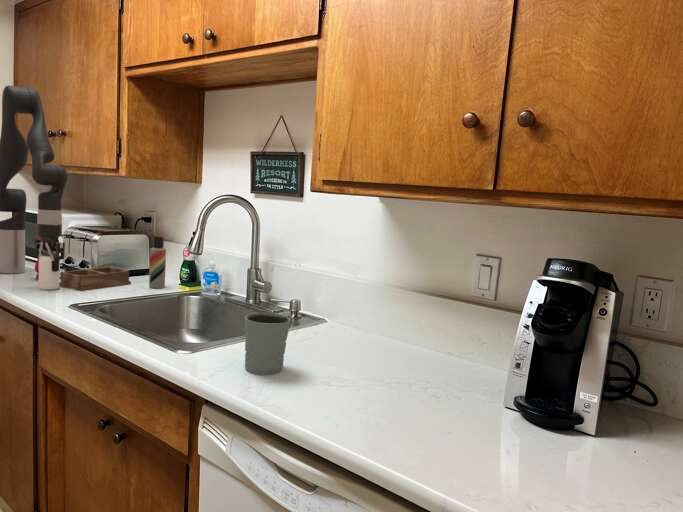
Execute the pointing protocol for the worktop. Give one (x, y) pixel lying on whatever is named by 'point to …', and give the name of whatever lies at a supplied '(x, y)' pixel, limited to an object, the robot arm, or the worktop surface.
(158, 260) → the striped water bottle
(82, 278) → the caddy
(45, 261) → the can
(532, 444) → the worktop surface
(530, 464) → the worktop surface
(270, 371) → the gray cup
